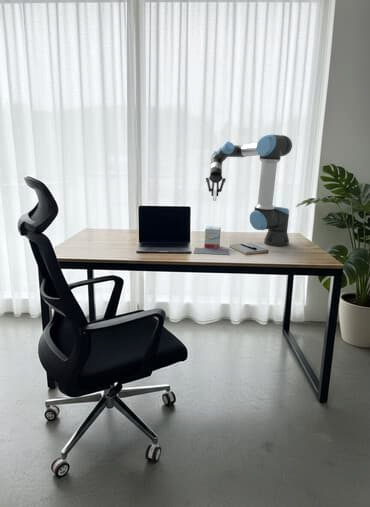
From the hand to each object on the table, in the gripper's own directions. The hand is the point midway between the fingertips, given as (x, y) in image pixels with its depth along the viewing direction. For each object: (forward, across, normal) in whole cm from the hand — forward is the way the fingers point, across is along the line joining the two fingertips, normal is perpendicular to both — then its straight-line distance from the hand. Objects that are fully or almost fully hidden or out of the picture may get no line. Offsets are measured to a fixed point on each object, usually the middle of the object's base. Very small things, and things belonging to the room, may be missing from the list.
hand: (214, 199), depth 230 cm
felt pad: (+38, 0, +1) cm, 38 cm away
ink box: (+31, 0, -7) cm, 31 cm away
